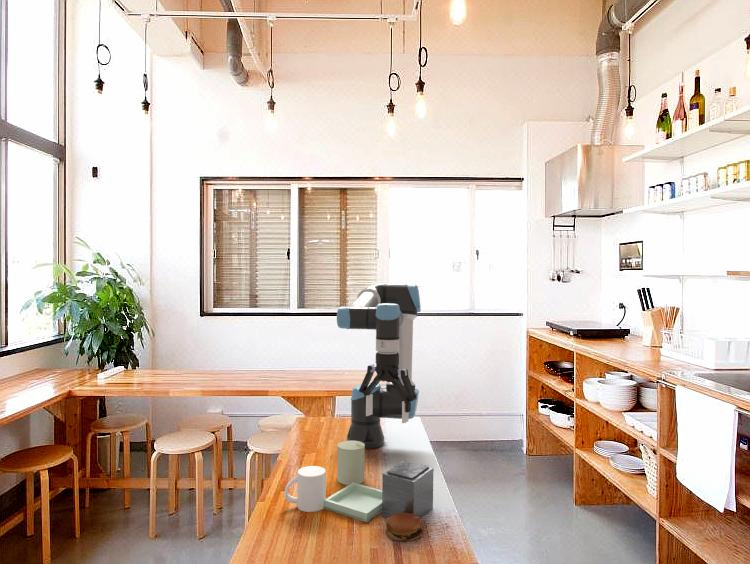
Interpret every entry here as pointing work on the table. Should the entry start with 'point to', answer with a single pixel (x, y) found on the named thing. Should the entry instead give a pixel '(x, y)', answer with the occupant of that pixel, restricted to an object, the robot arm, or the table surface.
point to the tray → (356, 502)
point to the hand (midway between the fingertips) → (386, 418)
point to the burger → (403, 527)
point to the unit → (407, 489)
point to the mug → (309, 489)
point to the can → (350, 462)
